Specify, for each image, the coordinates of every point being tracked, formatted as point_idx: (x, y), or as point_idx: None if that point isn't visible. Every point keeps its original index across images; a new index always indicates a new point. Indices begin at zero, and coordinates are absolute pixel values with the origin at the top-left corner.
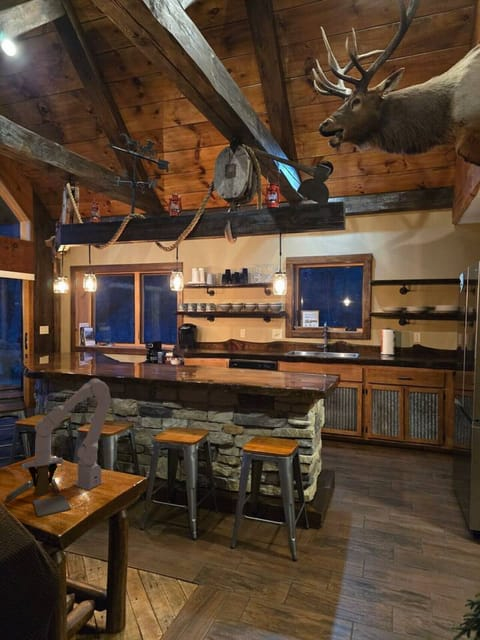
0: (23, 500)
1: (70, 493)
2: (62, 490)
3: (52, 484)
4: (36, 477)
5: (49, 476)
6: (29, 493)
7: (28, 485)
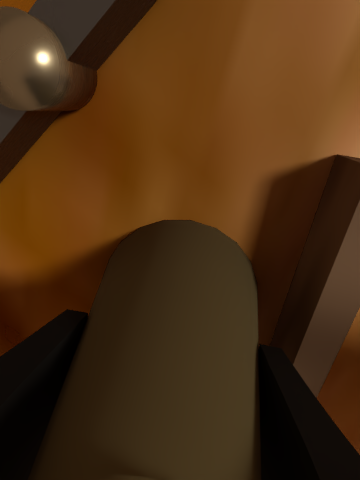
0: (15, 334)
1: (357, 435)
2: (344, 357)
3: (314, 277)
4: (48, 426)
5: (273, 460)
6: (72, 234)
7: (50, 111)
